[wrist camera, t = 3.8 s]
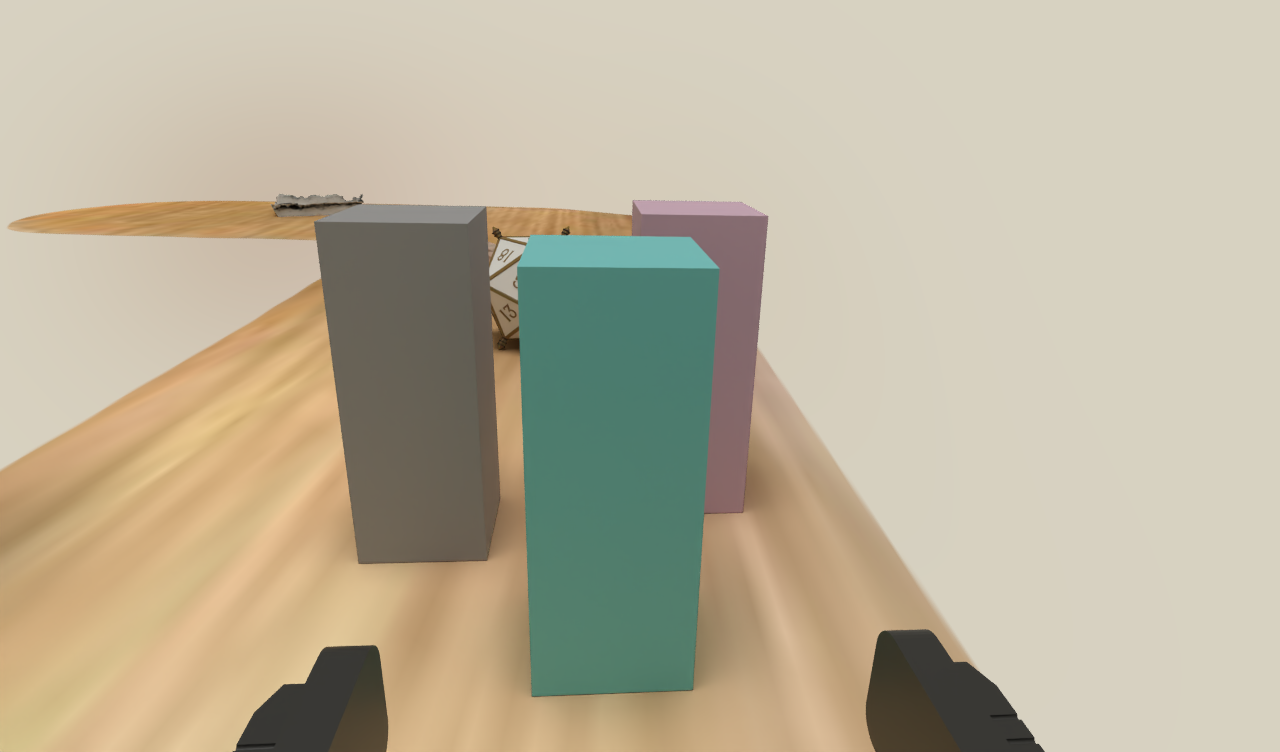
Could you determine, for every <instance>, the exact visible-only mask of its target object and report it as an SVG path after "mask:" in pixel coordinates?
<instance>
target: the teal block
mask: <svg viewBox="0 0 1280 752" xmlns="http://www.w3.org/2000/svg"><path fill="white" fill-rule="evenodd" d="M719 271H720V268H719V267H718V266H717V265H716V264H715V263H714V262H713V261H712V260H711V259H710V258H709V256H708V255H707V254H706V253H705V252H704V251H703V250H702V249H701V248H700V247H699V246H698V245H697V243H696V242H695V241H694V240H693V239H692V238H691V237H654V236H577V235H530V238H529V240H528V242H527V245H526V247H525V249H524V252H523V254H522V256H521V259H520V261H519V263H518V265H517V281H518V310H519V339H520V367H521V396H522V425H523V454H524V483H525V512H526V540H527V569H528V598H529V627H530V656H531V685H532V696H554V695H579V694H604V693H629V692H654V691H679V690H693V678H694V662H695V647H696V631H697V615H698V600H699V584H700V568H701V553H702V537H703V521H704V506H705V490H706V474H707V459H708V443H709V427H710V412H711V396H712V380H713V365H714V349H715V333H716V318H717V302H718V286H719Z"/></svg>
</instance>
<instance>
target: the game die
mask: <svg viewBox="0 0 1280 752" xmlns="http://www.w3.org/2000/svg"><path fill="white" fill-rule="evenodd" d="M492 234H494V235H495V236H494V237H497V238H498V241H497V244H496V246H495V249H494V251H493V254H492V257H491V259H490V262H489V275H490V296H491V313H492V315H493V317H494V319H495V322H496V324H497V326H498V328H499V330H500V332H501V334H502V336H503V338H502V339H501V340H499V343H498V349H499V350H500V349H501V348H503V347H505V344H506V341H507V340H512V339H519V310H518V281H517V265H518V263H519V261H520V259H521V256H522V254H523V252H524V249H525V247H526V245H527V242H528V240H529V238H530V236H501V232H500V231H499V229H497V228H495V227H493V233H492ZM568 234H570V232H569V226H568V227H567V228H565V229H563V232H562V235H568Z"/></svg>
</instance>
